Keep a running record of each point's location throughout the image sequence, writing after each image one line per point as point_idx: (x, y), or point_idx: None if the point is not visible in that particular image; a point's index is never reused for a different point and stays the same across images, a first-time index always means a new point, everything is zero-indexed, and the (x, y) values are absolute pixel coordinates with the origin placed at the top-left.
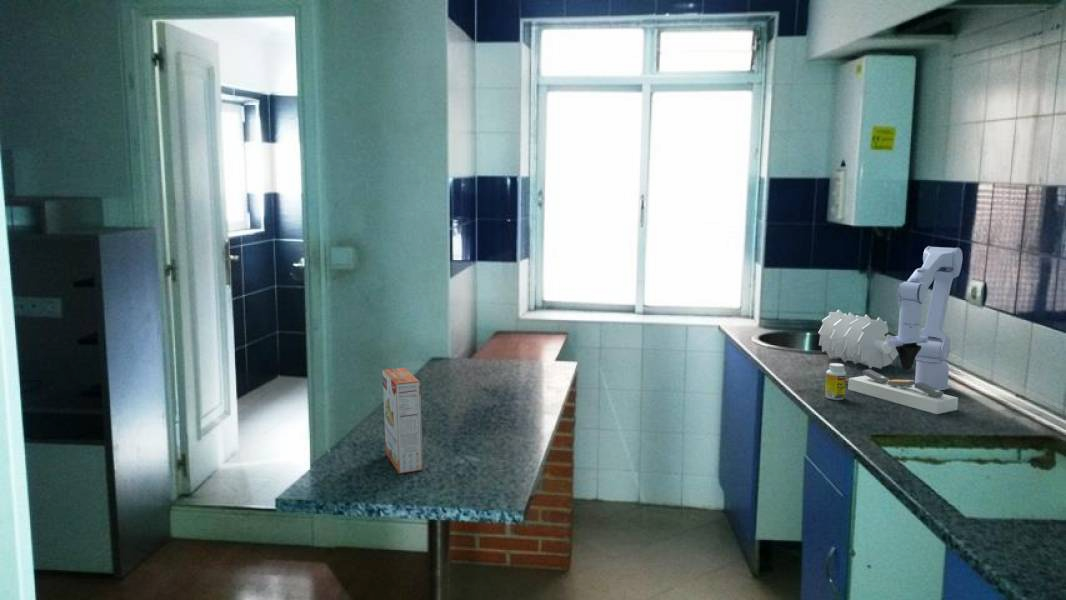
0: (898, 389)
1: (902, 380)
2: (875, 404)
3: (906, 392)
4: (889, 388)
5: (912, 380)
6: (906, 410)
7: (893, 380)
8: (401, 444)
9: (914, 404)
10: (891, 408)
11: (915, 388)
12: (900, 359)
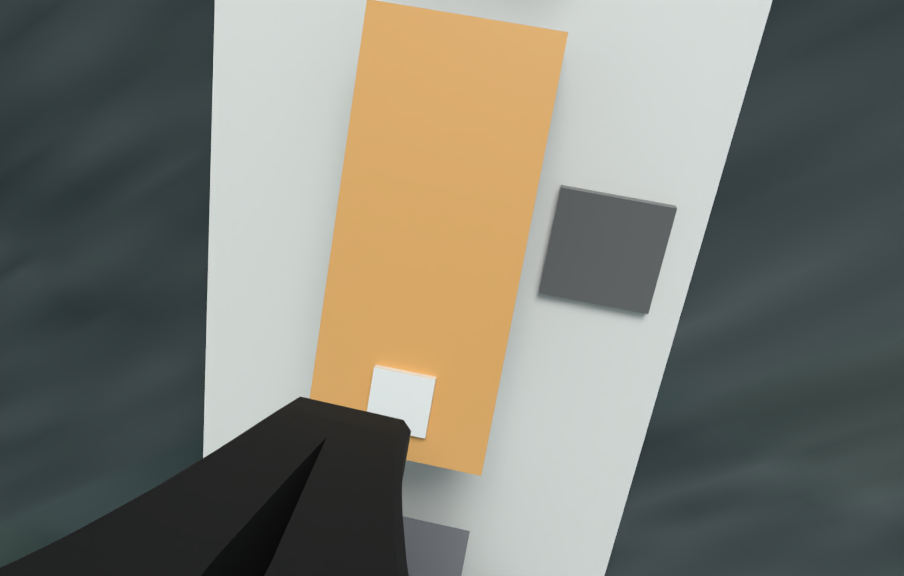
0: (309, 250)
1: (436, 274)
2: (15, 105)
3: (257, 391)
4: (250, 131)
5: (453, 447)
6: (122, 419)
7: (425, 98)
8: None
9: None
10: (48, 297)
11: (572, 380)
12: (128, 511)
